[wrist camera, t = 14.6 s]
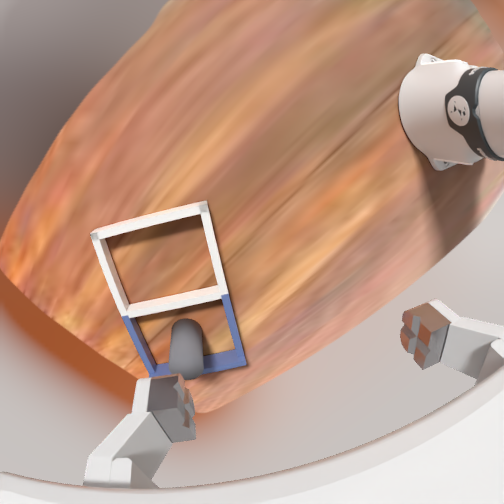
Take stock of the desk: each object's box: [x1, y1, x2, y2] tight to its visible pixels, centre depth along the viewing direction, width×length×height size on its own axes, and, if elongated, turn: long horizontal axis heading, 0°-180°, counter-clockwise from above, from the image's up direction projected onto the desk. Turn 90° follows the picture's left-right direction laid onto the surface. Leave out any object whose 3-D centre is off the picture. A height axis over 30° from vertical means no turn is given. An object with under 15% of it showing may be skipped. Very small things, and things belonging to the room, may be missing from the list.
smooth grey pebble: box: [169, 319, 204, 380], centre depth 39 cm, size 4×4×8 cm
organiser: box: [90, 200, 247, 378], centre depth 39 cm, size 15×24×3 cm, turn 11°
